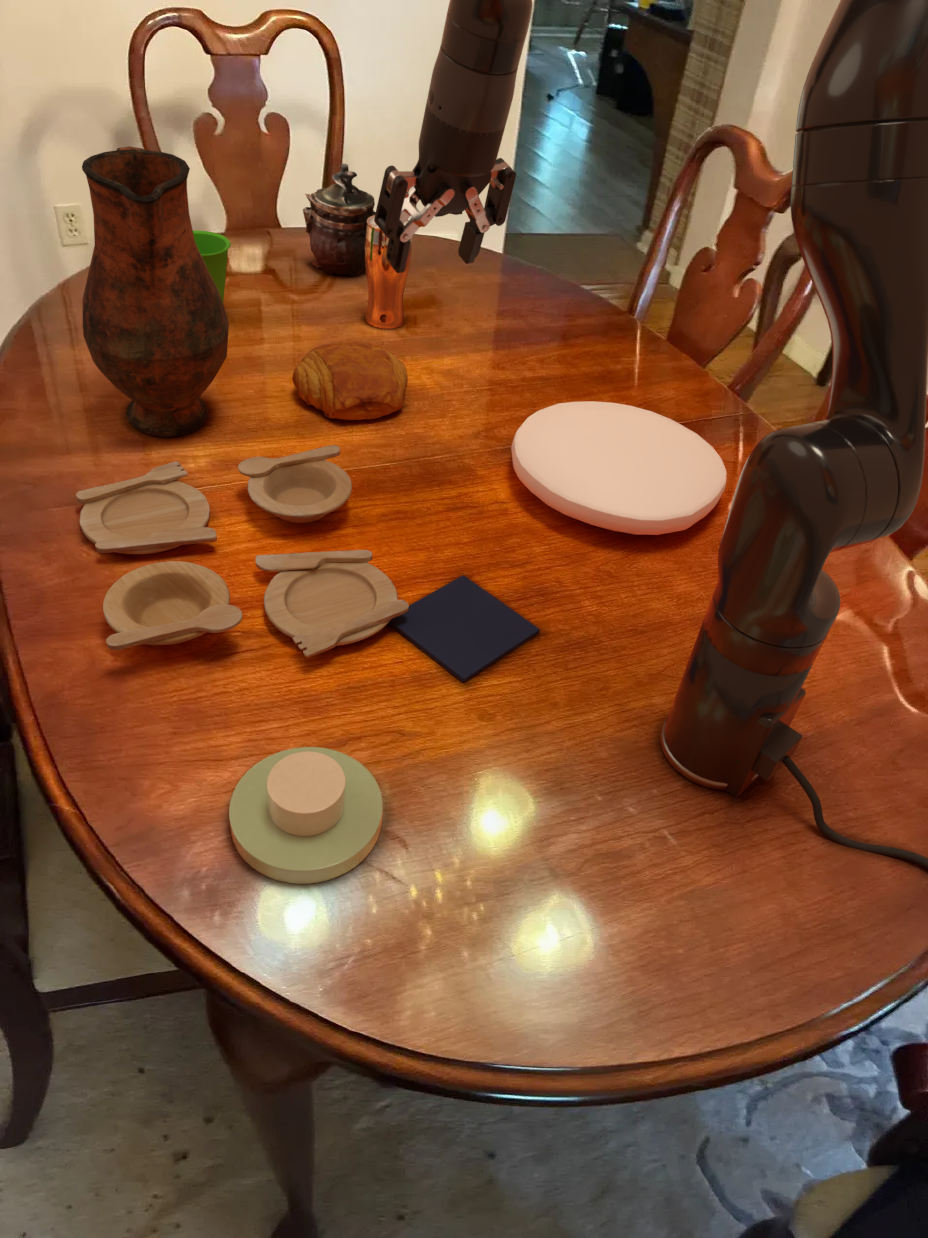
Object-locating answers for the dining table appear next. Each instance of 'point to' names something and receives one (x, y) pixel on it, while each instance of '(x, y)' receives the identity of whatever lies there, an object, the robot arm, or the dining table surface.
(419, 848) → the dining table surface
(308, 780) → the beige short cylinder
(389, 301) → the beer glass
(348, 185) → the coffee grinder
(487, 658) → the felt mat
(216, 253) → the cup
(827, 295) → the robot arm
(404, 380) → the croissant
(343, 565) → the tableware set
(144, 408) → the pitcher
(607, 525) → the white thick round disc
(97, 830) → the dining table surface
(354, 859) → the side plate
